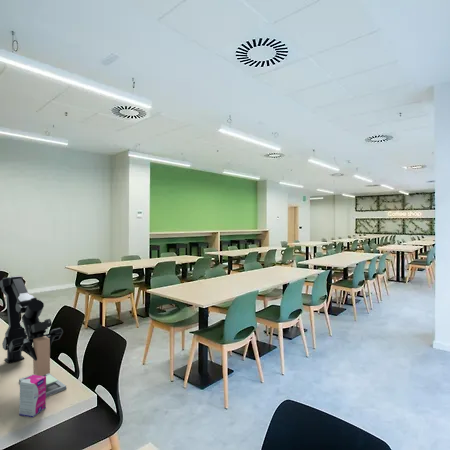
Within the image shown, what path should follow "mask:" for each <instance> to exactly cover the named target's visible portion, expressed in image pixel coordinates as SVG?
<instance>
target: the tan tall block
mask: <svg viewBox="0 0 450 450" xmlns="http://www.w3.org/2000/svg"><path fill="white" fill-rule="evenodd" d="M32 345H33V348H34V351H35V353H36V356H37V360H36V361H35V360H34V359H33V358H32V360H33V364H32V365H33V366H32V368H33V372H32V373H33V374H34V375H38V376H43V375H46V374H49V373H50V374H51V352H50V338H48V337H46V336H43V337H39V338H35V339H33V343H32ZM33 374H32V375H33Z"/></svg>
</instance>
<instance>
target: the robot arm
mask: <svg viewBox="0 0 450 450" xmlns="http://www.w3.org/2000/svg"><path fill="white" fill-rule="evenodd" d="M0 289H1V293H3V295H5V299H6V305H7V306H6V310H7V319H8V320H7V321H8V322H7V323H8V328H7V329H6V331H5V334H4V338H3V340H2V349H3V350H4V351H6V353H7V354H6V355H7V356H6V357H5V358H4V361H5V362H6V363H7V364H12V363H15V362H18V361H21V360H25V356H24V355H22V352H23V353H25V354H27V355H28V356H29V357H30V358H32V360H33V359H34V360H35V361H36V360H37V356H36V353H35V351H34V348H33V339H35V338H39V337H43V336H46V337H48V338H50V353H51V351H52V350H51V349H52V343H53V342H55V341H58V340H61V337H62V336H63V334H64V330H63V328H61V327H56V328H53V329H51V330H50V331H49V333H47V330H48V328H51V327H52V326H53V324H52V320H51V318H46V319H45V320H44V321H41V320H40V319H39V317H40V316H41V315H42V311H43V310H44V307H45V303H44V302H43V301H41V300H40V299H37V297H35V296H34V295H32V294H29V292H28V289H27V287H26V285H25V283H24V277H23V276H22V275H13V276H9V277H3V278H2V279H1V280H0ZM20 314H23V315H22V317H21V319H20ZM20 320H22V321H20ZM21 322H22V324H23V326H22V325H21Z"/></svg>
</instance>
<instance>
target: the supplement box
mask: <svg viewBox="0 0 450 450" xmlns="http://www.w3.org/2000/svg"><path fill="white" fill-rule="evenodd" d="M31 375H32V376H30V375H29V376H30V377H28V378H26V379H25V380H23V381H21V382H19V405H18V406H19V411H18V412H19V414H18V415H19V416H20V417H27V418H34V417H35V416H37V415H38V414H39V413H42V411H43V410H45V409H46V402H47V401H46V400H47V397H46V376H38V375H33V374H31Z"/></svg>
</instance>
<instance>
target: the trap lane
mask: <svg viewBox="0 0 450 450" xmlns="http://www.w3.org/2000/svg"><path fill="white" fill-rule="evenodd" d="M32 375H34V374H30V375H27V376H25V377H21V378H19V379H18V382H19V383H20V382H21V381H23V380H25V379H26V378H28V377H30V376H32ZM43 376H46V398H47V397H50V396H51V395H54V394H57V393H60V392H62V391H64V390H67V385H66V384H64V383H63V382H62V381H60V380H59V379H58V378H56V377H55V376H54V375H52V374H51V372H50V373H49V374H46V375H43Z"/></svg>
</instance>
